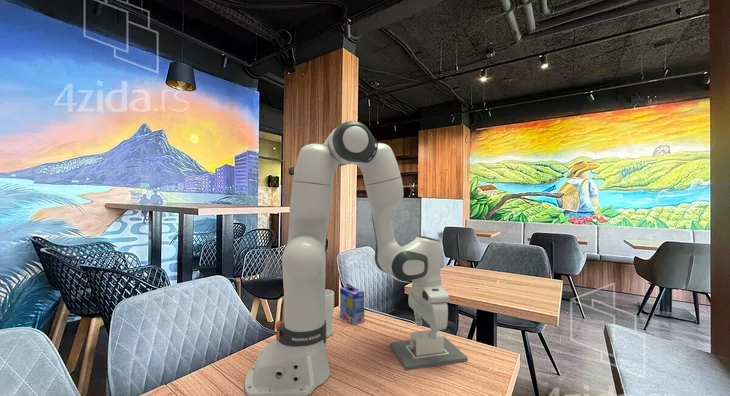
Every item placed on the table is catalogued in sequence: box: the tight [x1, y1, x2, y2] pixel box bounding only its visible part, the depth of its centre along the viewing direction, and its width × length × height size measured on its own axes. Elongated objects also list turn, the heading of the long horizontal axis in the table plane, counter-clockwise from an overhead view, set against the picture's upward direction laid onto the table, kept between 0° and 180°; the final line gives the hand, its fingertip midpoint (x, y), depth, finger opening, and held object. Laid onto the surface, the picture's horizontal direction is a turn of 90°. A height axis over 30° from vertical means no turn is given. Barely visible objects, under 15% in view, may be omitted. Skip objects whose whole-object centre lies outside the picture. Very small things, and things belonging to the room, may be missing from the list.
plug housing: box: [410, 329, 445, 356], centre depth 93 cm, size 9×5×5 cm, turn 104°
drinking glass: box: [325, 289, 335, 337], centre depth 105 cm, size 7×7×15 cm
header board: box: [389, 336, 469, 371], centre depth 93 cm, size 20×14×4 cm
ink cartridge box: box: [339, 283, 365, 326], centre depth 117 cm, size 10×6×14 cm, turn 40°
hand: (425, 331), depth 93 cm, fingers open, 8 cm apart
